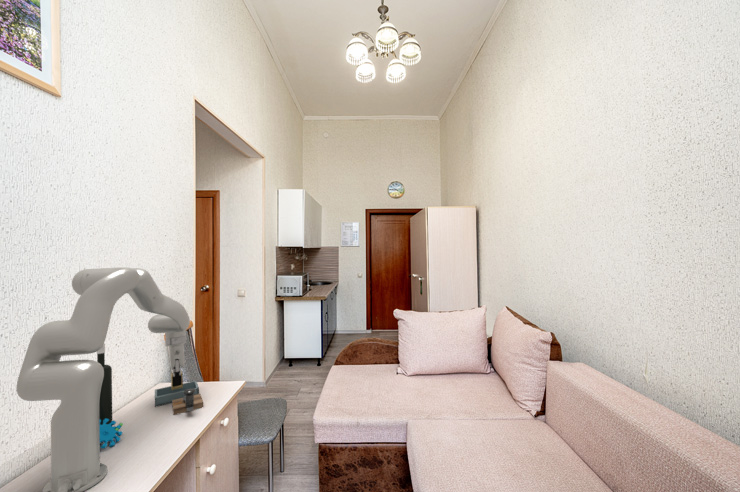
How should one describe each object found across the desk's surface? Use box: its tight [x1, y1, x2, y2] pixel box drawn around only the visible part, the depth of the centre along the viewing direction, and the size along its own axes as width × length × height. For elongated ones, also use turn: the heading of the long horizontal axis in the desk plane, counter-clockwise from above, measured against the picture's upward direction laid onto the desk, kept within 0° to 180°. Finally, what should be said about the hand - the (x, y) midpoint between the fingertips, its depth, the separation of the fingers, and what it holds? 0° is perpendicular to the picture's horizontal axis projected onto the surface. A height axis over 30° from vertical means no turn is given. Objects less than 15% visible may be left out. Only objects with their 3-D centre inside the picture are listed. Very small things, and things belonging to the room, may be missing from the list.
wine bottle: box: [96, 343, 113, 426], centre depth 112 cm, size 6×6×30 cm
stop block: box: [170, 370, 184, 390], centre depth 138 cm, size 4×4×6 cm
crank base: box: [171, 393, 204, 416], centre depth 128 cm, size 10×10×2 cm
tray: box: [154, 380, 200, 408], centre depth 137 cm, size 11×16×4 cm
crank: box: [183, 388, 195, 412], centre depth 124 cm, size 13×4×7 cm, turn 34°
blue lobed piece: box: [99, 418, 124, 450], centre depth 103 cm, size 11×6×10 cm
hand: (176, 383), depth 137 cm, fingers closed on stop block, 4 cm apart
